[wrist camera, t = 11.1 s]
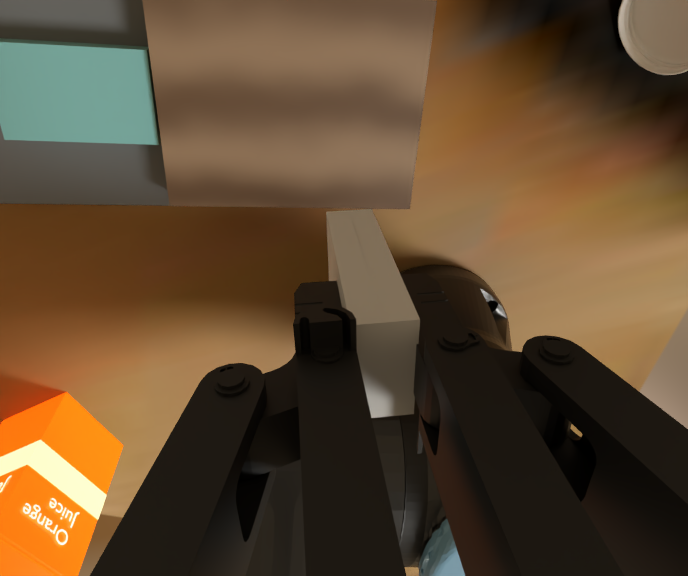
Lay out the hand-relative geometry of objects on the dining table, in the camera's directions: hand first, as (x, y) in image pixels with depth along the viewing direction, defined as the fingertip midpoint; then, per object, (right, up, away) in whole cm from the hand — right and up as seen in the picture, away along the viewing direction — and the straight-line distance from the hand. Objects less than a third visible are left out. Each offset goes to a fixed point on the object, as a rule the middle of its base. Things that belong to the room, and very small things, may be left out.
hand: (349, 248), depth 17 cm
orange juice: (-29, -16, +34) cm, 47 cm away
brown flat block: (-4, +12, +20) cm, 24 cm away
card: (-18, +12, +17) cm, 27 cm away
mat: (-20, +11, +18) cm, 29 cm away
